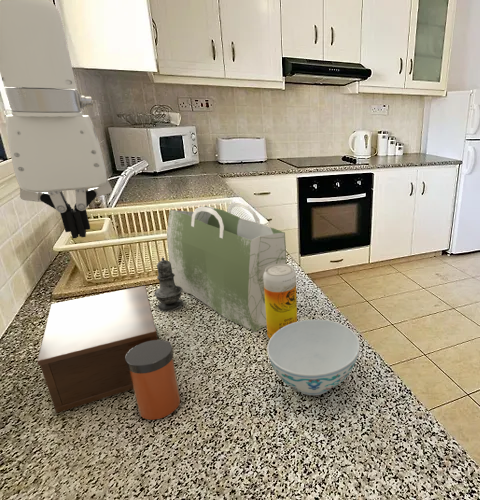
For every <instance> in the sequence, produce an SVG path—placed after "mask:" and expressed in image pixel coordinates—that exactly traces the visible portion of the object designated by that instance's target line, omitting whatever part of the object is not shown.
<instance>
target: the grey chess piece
mask: <svg viewBox="0 0 480 500" xmlns="http://www.w3.org/2000/svg"><path fill="white" fill-rule="evenodd" d="M156 268H157V274H158V275H157V276H156V279H157V280H158V281H159V282H158V283H159V288H158V289H156V290H155V291H154V293H153V294H154V295H153V296H154V297H156V299H157V301H158V302H159V304H158V306H157V308H158V310H159V311H162V312H168V311H174V310H177V309H179V308H181V307H182V306H183V305H184V301H183V300H182V299H180V298H181V296H182V292H183V291H182V290H183V289H182V288H181V287H180V286H176V285H175V283H174V276H175V274H174V273H172V267H171V263H170V262H169V260H167V259H166V260H165V258H164V257H161V259H160V261H159V262H157V264H156Z"/></svg>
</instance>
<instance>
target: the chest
mask: <svg viewBox="0 0 480 500" xmlns="http://www.w3.org/2000/svg"><path fill="white" fill-rule="evenodd" d="M152 340H159V338H158V334H157V335H156V336H152V337H148V338H144V339H140V340H136V341H133V342H129V343H125V344H121V345H117V346H113V347H110V348H106V349H102V350H98V351H94V352H90V353H86V354H83V355H79V356H75V357H71V358H67V359H63V360H60V361H56V362H52V363H48V364H44V365H40V369H41V372H42V375H43V378H44V381H45V383H46V387H47V390H48V393H49V396H50V399H51V401H52V404H53V407H54V411H55V414H58V413H62V412H66V411H68V410H71V409H75V408H77V407H80V406H84V405H87V404H91V403H93V402H97V401H100V400H103V399H106V398H109V397H112V396H116V395H118V394H122V393H125V392H128V391H132V390H134V389H133V384H132V380H131V376H130V372H129V370H128V368H127V364H126V360H125V357H126V354H127V353H128V352H129V351H130V350H131V349H132V348H133V347H135V346H137V345H139V344H141V343H144V342H147V341H152Z"/></svg>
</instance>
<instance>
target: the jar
mask: <svg viewBox="0 0 480 500" xmlns="http://www.w3.org/2000/svg"><path fill="white" fill-rule="evenodd" d="M125 360H126V364H127V368H128V370H129V372H130V376H131V380H132V384H133V389H132V390H133V392H134V397H135V401H136V405H137V410H138V412H139V416H140V417H141V418H143V419H144V420H149V421H153V420H154V421H155V420H160V419H163V418H165V417H167V416H169V415H172V413H173V412H175V411H176V410H177V409H178V408H179V406H180V404H181V394H180V390H179V384H178V378H177V372H176V367H175V361H174V350H173V346H172V344H171V342H169V341H167V340H164V339H158V340H152V341H147V342H144V343H141V344H139V345H137V346H135V347H133V348H132V349H131V350H130V351H129V352H128V353H127V354H126V357H125Z"/></svg>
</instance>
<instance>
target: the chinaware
mask: <svg viewBox="0 0 480 500" xmlns="http://www.w3.org/2000/svg"><path fill="white" fill-rule="evenodd" d="M360 348H361V343H360V340H359V337H358V336H357V334H356V333H355V332H354V331H353V330H352V329H351V328H349V327H348V326H347V325H344V324H342V323H340V322H337V321H333V320H328V319H318V318H315V319H302V320H297V322H294V323H291V324H289V325H287V326H285V327H283V328H281V329H280V330H278V331H277V332H276V333H275V334H274V335H273V336H272V337H271V339H270V338H269V340H268V342H267V347H266V349H267V350H266V351H267V356H268V359H269V362H270V364H271V367H272V369H273V370H274V373H275V374H276V375H277V376H278V378H280V380H281V381H282V382H283V383H284V384H285V385H287V386H288V387H290V388H292V389H293V390H296V391H298V392H300V393H301V394H303V395H306V396H307V395H308V396H320V395H324V394H326V393H327V392H329V391H331V389H333V388H335V387H337V386H338V385H339V384H341V383H342V382H343V381H344V380H346V378H347V377H348V376H349V375H350V374H351V373H352V371H353V368H354V367H355V365H356V363H357V360H358V357H359V354H360Z"/></svg>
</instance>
